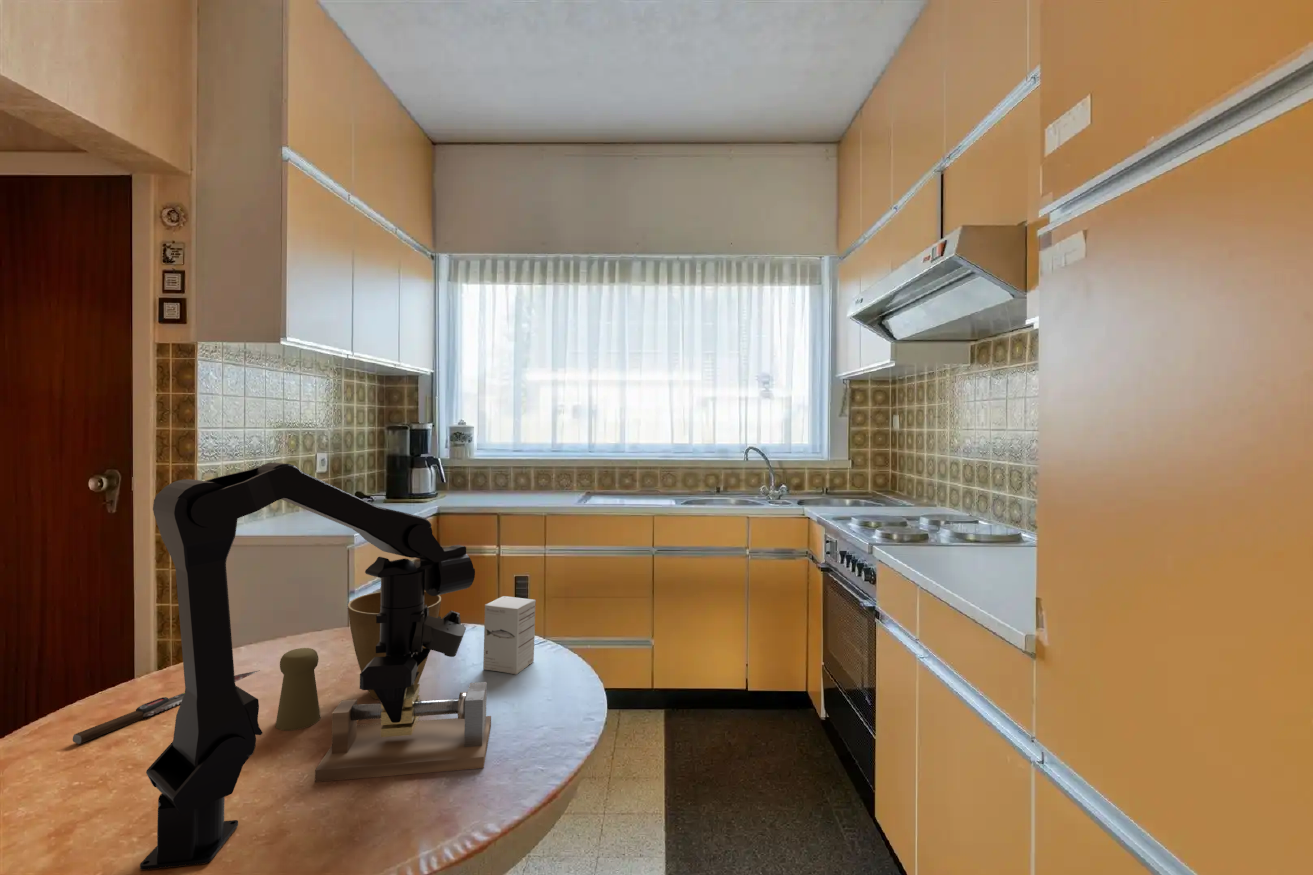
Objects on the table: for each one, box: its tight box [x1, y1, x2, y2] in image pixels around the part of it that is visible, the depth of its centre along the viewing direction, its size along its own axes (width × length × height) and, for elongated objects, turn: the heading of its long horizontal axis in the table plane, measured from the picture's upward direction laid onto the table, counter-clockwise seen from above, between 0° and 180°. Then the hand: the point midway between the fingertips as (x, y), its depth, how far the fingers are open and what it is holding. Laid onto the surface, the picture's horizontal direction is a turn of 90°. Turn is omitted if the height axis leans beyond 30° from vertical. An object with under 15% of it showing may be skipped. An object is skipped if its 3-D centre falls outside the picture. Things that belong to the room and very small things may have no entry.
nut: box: [380, 683, 421, 737], centre depth 85 cm, size 5×4×5 cm
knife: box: [72, 670, 260, 745], centre depth 100 cm, size 3×2×30 cm
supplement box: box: [482, 595, 537, 675], centre depth 117 cm, size 7×7×13 cm
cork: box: [275, 647, 321, 731], centre depth 93 cm, size 6×6×11 cm
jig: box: [314, 699, 492, 783], centre depth 85 cm, size 12×21×7 cm, turn 101°
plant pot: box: [347, 590, 442, 701], centre depth 105 cm, size 15×15×16 cm
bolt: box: [350, 681, 488, 747], centre depth 85 cm, size 6×19×6 cm, turn 101°
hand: (400, 713), depth 85 cm, fingers closed on nut, 5 cm apart
